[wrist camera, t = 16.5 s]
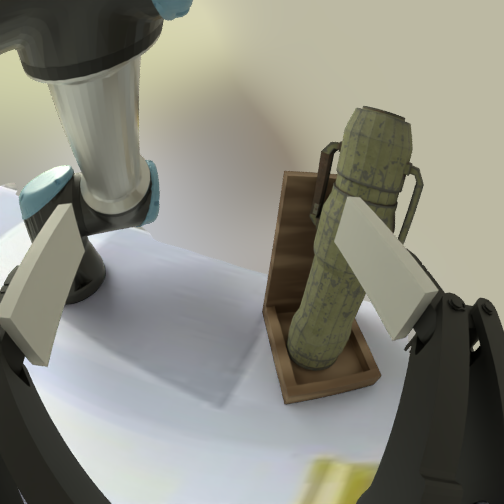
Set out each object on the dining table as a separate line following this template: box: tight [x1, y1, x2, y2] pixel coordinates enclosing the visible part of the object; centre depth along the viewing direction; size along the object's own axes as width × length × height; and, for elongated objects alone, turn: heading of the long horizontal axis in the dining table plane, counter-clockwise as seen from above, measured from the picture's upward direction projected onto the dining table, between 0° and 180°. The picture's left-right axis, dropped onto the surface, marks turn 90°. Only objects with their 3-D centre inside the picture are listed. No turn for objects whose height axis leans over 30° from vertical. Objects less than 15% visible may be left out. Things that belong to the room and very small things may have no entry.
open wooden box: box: [262, 171, 381, 404], centre depth 36 cm, size 18×15×26 cm
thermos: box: [286, 106, 423, 371], centre depth 33 cm, size 9×12×35 cm
